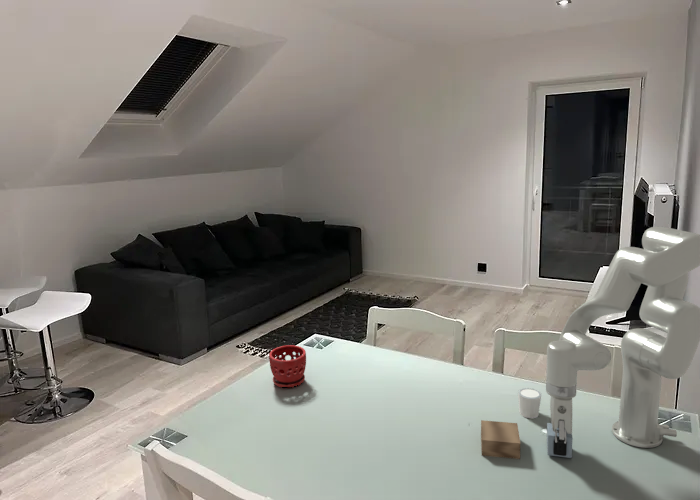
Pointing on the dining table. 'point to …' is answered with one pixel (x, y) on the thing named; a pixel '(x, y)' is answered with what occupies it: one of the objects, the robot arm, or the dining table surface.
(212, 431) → the dining table surface
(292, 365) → the plant pot
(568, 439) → the slate cube
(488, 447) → the walnut block
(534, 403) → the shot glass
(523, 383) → the dining table surface
